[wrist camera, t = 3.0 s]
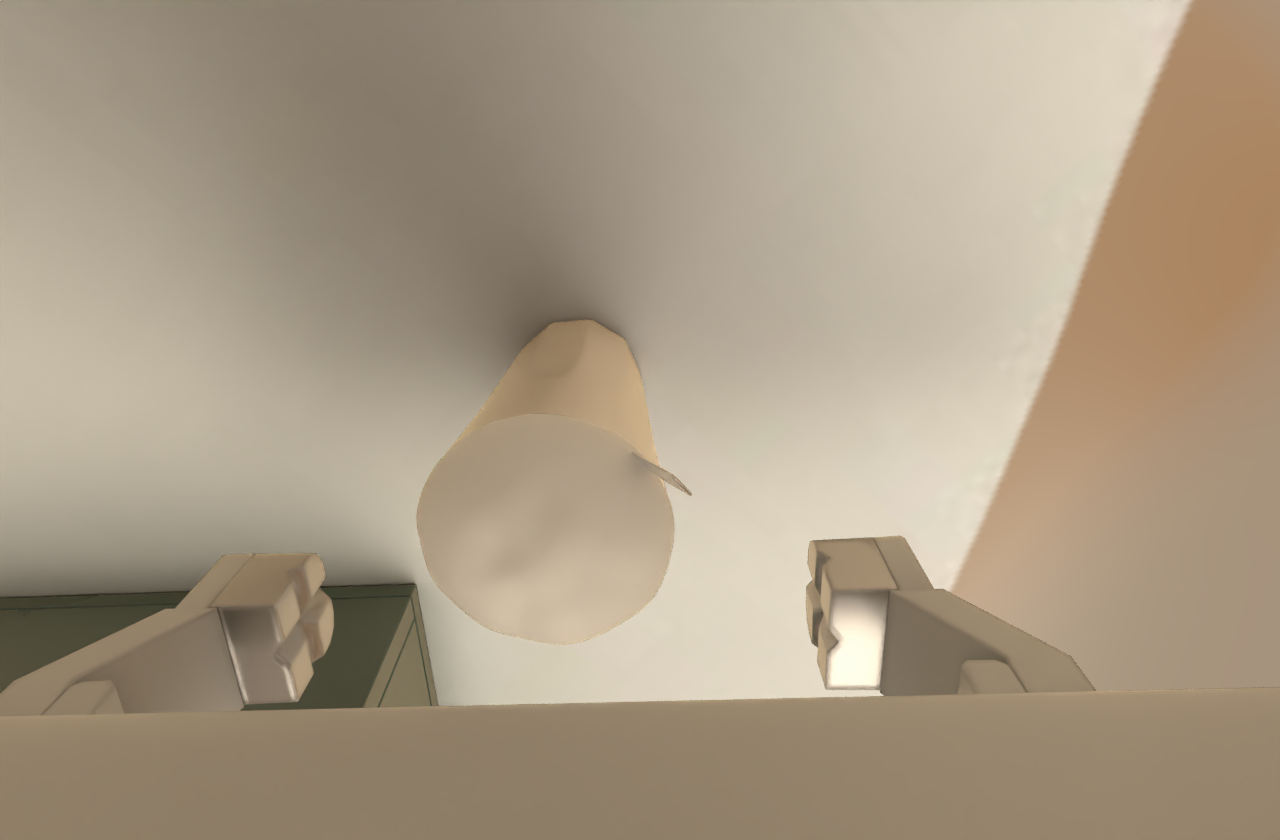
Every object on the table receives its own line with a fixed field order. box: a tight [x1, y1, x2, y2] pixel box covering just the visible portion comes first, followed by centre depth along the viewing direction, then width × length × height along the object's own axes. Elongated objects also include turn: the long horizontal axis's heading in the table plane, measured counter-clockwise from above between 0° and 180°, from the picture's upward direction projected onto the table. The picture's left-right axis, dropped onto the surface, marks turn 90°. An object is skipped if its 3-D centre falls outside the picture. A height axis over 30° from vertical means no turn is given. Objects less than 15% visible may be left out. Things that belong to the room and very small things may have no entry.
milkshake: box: [416, 319, 692, 645], centre depth 17 cm, size 5×5×10 cm
